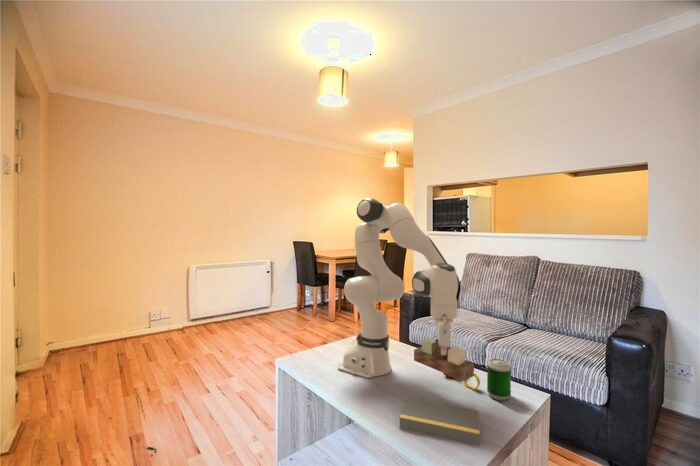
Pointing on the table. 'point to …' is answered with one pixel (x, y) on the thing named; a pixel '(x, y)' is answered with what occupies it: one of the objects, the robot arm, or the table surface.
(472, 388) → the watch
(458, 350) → the block
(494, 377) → the soda can
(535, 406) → the table surface
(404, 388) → the table surface
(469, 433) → the dock
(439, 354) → the wooden toy cargo boat
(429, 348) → the block
